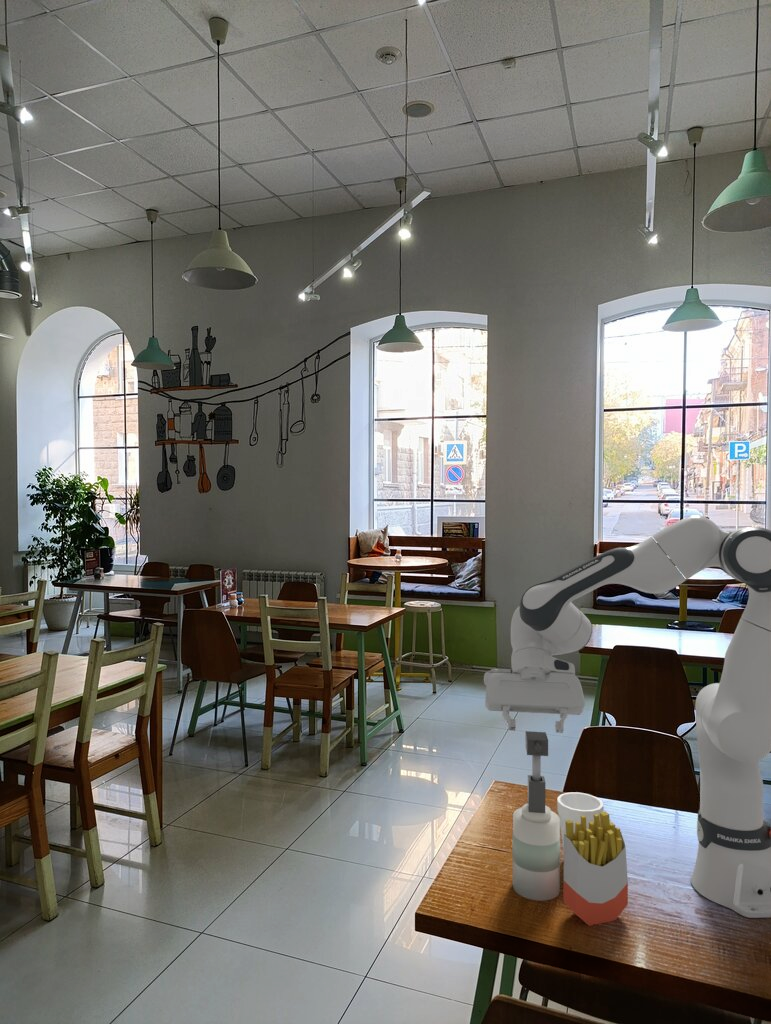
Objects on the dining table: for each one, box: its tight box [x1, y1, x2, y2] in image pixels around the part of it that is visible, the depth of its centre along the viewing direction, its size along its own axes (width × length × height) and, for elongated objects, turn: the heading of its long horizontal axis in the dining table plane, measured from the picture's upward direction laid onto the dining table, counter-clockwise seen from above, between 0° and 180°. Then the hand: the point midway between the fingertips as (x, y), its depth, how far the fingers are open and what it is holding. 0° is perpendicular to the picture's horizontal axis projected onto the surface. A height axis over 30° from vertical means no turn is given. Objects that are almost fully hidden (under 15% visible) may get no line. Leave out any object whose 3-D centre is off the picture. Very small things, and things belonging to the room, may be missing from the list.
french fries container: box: [563, 810, 629, 926], centre depth 122 cm, size 5×11×18 cm, turn 107°
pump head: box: [524, 730, 549, 781], centre depth 130 cm, size 4×9×9 cm, turn 172°
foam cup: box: [556, 791, 605, 852], centre depth 141 cm, size 10×9×13 cm
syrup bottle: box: [511, 774, 561, 902], centre depth 131 cm, size 9×9×22 cm
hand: (535, 730), depth 134 cm, fingers open, 8 cm apart
